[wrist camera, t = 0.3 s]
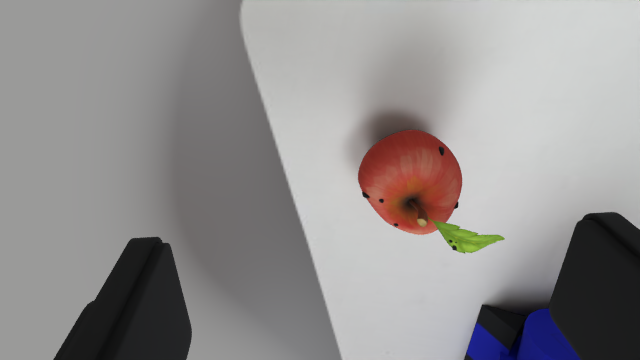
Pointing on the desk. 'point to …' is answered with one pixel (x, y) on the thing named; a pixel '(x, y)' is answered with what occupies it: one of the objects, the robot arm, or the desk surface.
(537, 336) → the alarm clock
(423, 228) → the apple
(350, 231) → the desk surface
